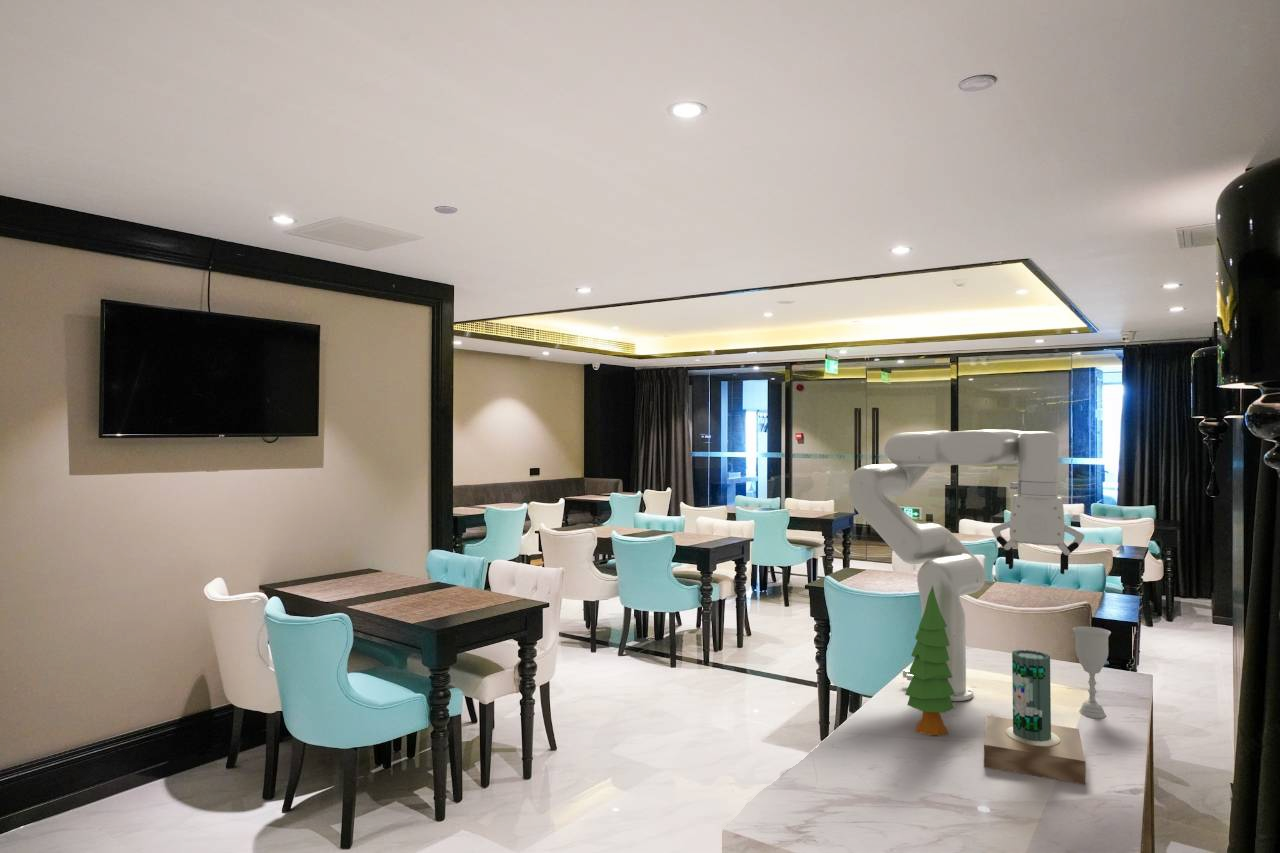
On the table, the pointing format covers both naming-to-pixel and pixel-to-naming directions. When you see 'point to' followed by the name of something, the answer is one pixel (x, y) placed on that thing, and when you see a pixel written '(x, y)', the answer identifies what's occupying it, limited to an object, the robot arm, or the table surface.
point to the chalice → (1091, 662)
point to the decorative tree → (931, 671)
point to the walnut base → (1035, 752)
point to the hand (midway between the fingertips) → (1036, 570)
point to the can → (1031, 695)
